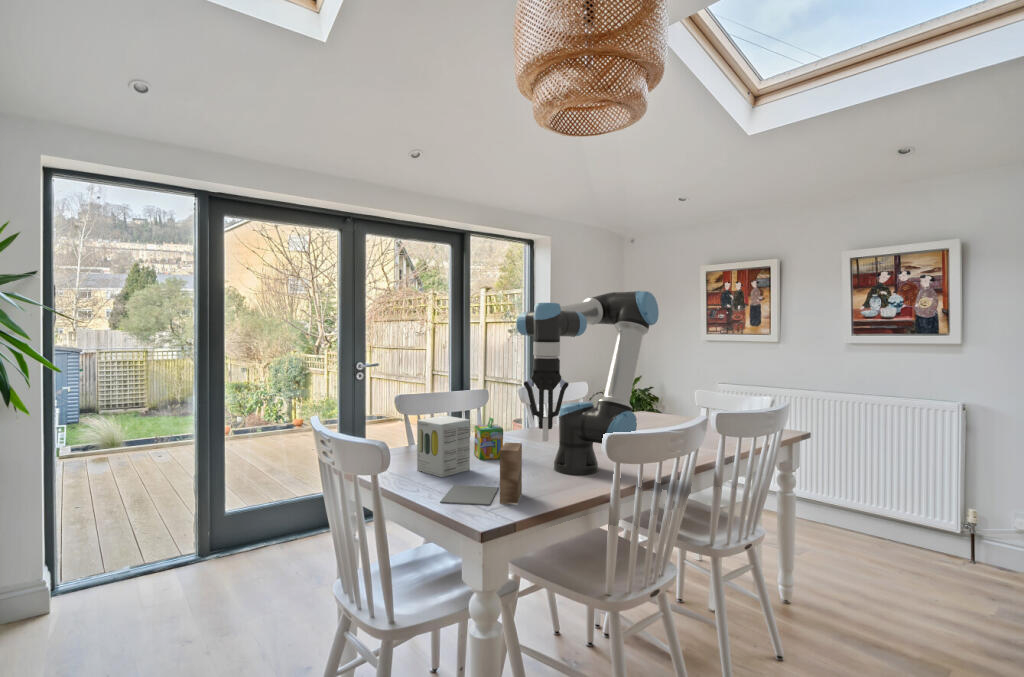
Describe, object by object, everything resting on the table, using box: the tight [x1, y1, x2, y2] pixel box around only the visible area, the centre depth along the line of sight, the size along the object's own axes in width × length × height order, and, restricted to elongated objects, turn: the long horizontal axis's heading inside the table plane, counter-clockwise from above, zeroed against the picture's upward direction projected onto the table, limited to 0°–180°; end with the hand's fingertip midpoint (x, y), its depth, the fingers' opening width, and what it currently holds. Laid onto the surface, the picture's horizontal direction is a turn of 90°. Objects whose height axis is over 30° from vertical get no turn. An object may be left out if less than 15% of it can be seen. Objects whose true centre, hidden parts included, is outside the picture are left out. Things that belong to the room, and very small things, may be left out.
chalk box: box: [473, 417, 504, 461], centre depth 205 cm, size 9×9×15 cm
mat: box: [439, 484, 500, 506], centre depth 159 cm, size 14×16×1 cm
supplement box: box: [416, 415, 471, 478], centre depth 186 cm, size 13×13×18 cm
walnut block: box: [499, 442, 523, 506], centre depth 156 cm, size 5×10×15 cm, turn 172°
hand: (545, 440), depth 154 cm, fingers closed
